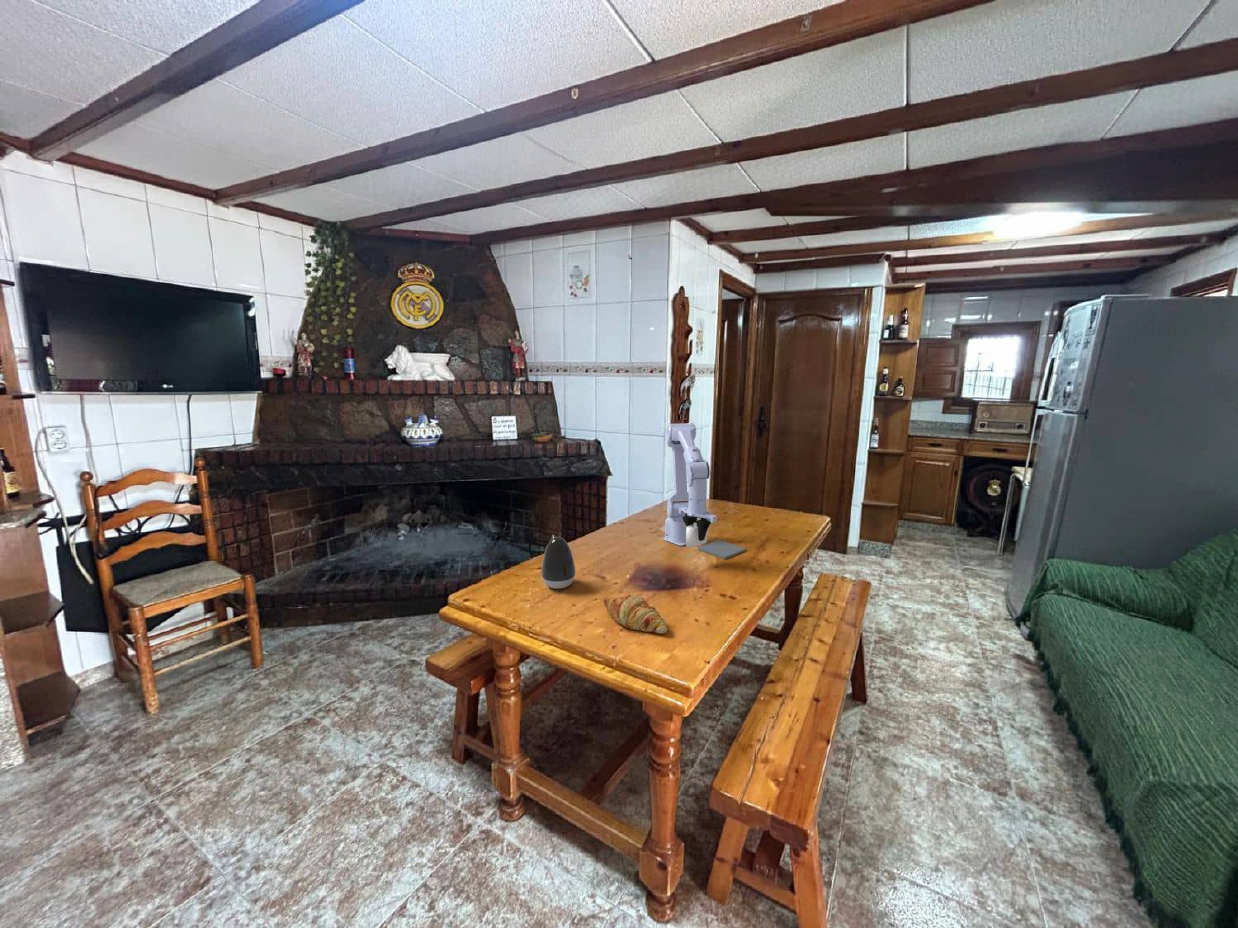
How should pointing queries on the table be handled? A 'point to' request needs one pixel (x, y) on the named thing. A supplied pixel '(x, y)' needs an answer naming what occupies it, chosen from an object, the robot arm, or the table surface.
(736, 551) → the slate mat
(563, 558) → the dark grey egg shape
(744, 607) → the table surface
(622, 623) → the croissant
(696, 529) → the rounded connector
